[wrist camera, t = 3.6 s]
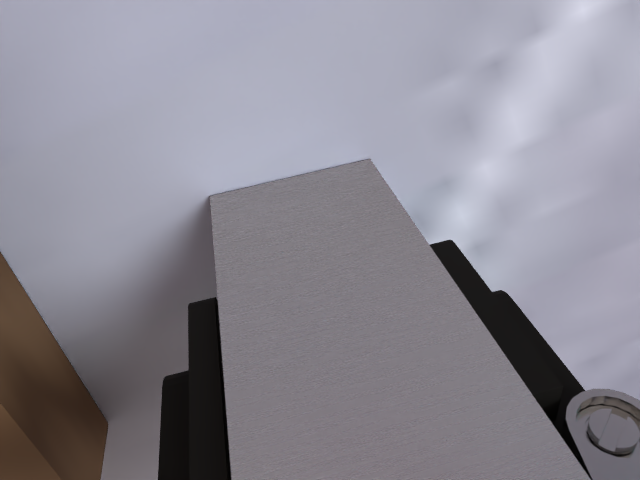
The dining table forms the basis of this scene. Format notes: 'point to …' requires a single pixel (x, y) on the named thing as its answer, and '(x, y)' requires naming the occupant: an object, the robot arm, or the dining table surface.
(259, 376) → the steel square peg
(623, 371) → the dining table surface
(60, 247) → the dining table surface
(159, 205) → the dining table surface
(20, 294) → the walnut bore plate
